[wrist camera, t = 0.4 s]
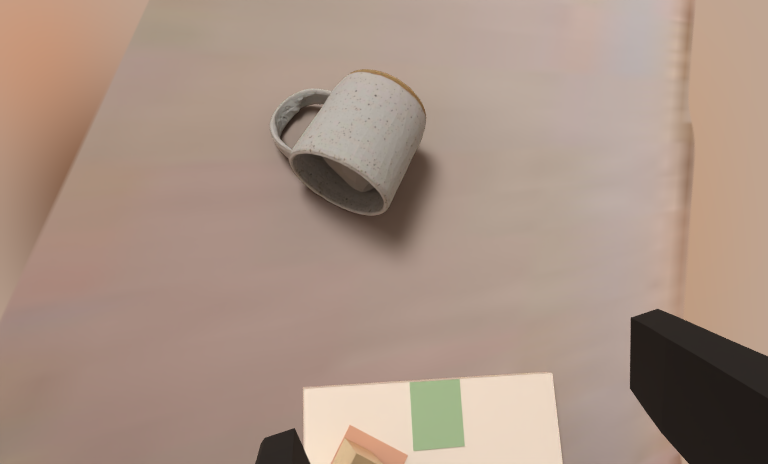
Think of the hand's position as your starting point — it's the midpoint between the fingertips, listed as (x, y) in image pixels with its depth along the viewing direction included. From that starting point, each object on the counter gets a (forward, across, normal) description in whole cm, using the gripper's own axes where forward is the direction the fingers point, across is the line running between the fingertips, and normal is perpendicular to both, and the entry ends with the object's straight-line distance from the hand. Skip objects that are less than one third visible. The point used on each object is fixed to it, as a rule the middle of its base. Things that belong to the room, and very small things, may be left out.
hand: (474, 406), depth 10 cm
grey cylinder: (+30, 0, +4) cm, 31 cm away
